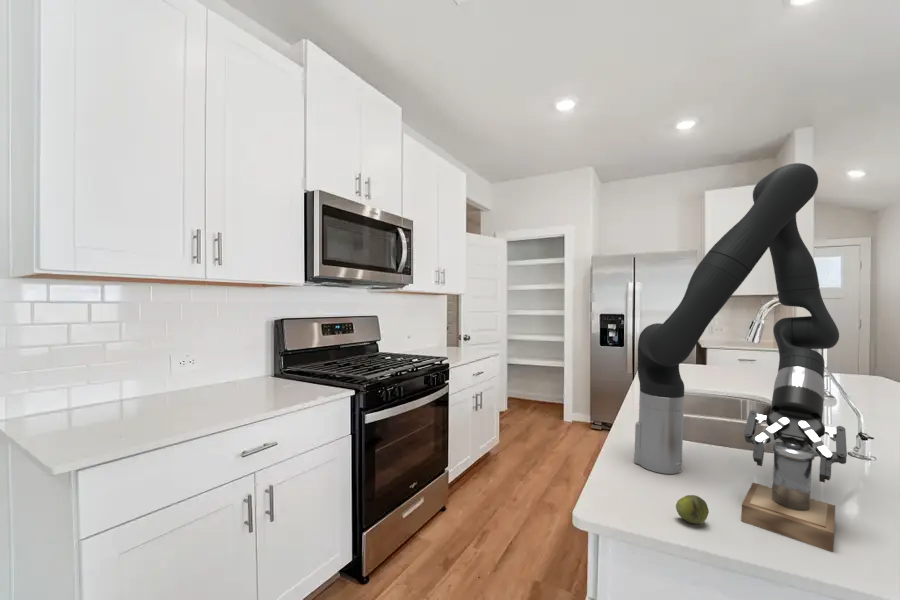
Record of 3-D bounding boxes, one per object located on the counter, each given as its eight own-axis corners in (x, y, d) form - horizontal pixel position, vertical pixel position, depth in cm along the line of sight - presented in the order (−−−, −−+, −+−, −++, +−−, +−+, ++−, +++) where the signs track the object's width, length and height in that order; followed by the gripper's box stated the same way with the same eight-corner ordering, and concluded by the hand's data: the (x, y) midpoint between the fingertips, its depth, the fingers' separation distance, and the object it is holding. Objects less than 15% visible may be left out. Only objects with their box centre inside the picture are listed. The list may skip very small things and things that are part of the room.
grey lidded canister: (767, 502, 73) (770, 443, 73) (771, 491, 77) (774, 435, 77) (810, 515, 69) (814, 453, 69) (812, 503, 73) (815, 444, 73)
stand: (741, 520, 73) (741, 502, 73) (752, 497, 82) (752, 481, 81) (833, 551, 65) (834, 531, 64) (834, 521, 73) (835, 504, 73)
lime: (671, 519, 73) (672, 491, 73) (690, 513, 75) (691, 486, 75) (695, 532, 69) (696, 503, 69) (714, 526, 71) (715, 498, 71)
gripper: (751, 378, 83) (738, 449, 75) (849, 391, 73) (846, 475, 65) (754, 399, 87) (742, 469, 79) (847, 414, 77) (844, 496, 69)
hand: (789, 471), depth 72 cm, fingers open, 8 cm apart
